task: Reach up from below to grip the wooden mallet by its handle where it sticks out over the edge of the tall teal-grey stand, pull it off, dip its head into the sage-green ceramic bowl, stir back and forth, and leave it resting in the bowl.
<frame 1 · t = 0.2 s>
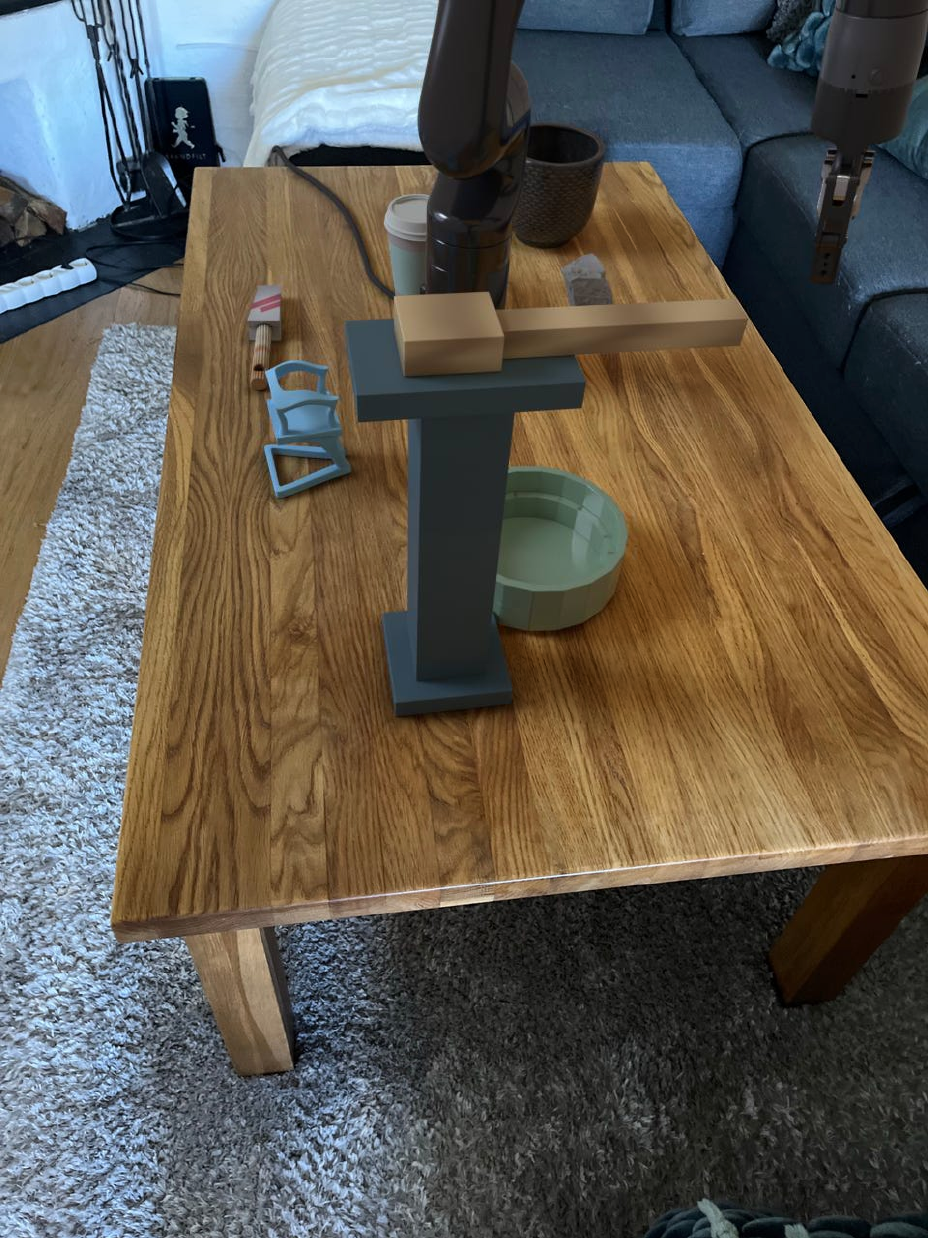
hand: (827, 261, 88), 22 cm above the table, tool pointing down, fingers open, 8 cm apart
chair: (309, 470, 99), on the table
wooden mallet: (462, 350, 58), point 32 cm above the table, touching lectern stand
coffee cup: (417, 299, 122), on the table
mineral specimen: (585, 325, 120), on the table
planter: (542, 237, 134), on the table
lectern stand: (444, 664, 83), on the table
bowl: (531, 569, 91), on the table
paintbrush: (265, 342, 114), on the table
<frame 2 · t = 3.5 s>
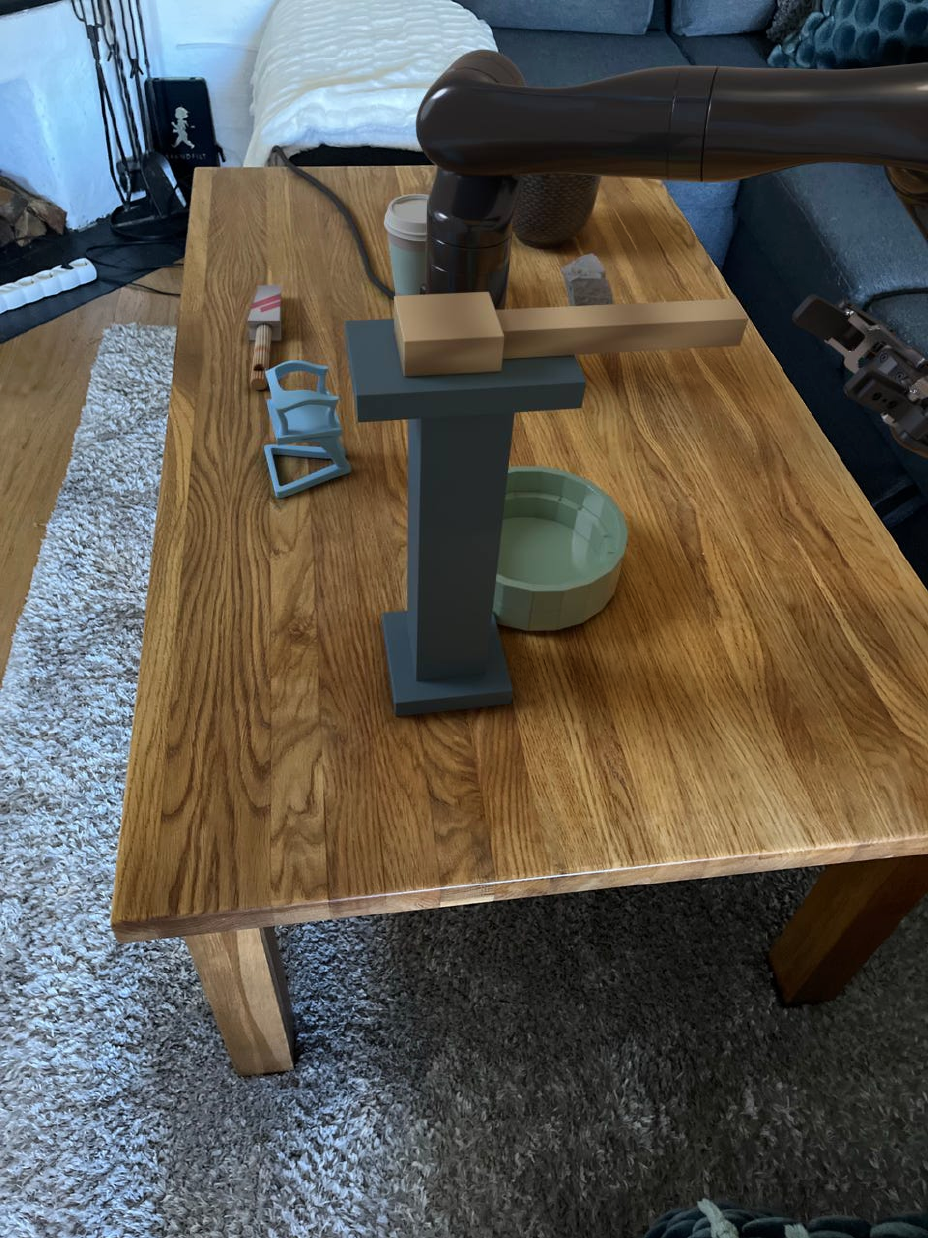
hand: (827, 341, 63), 31 cm above the table, tool pointing upward, fingers open, 8 cm apart
nothing on the table moved.
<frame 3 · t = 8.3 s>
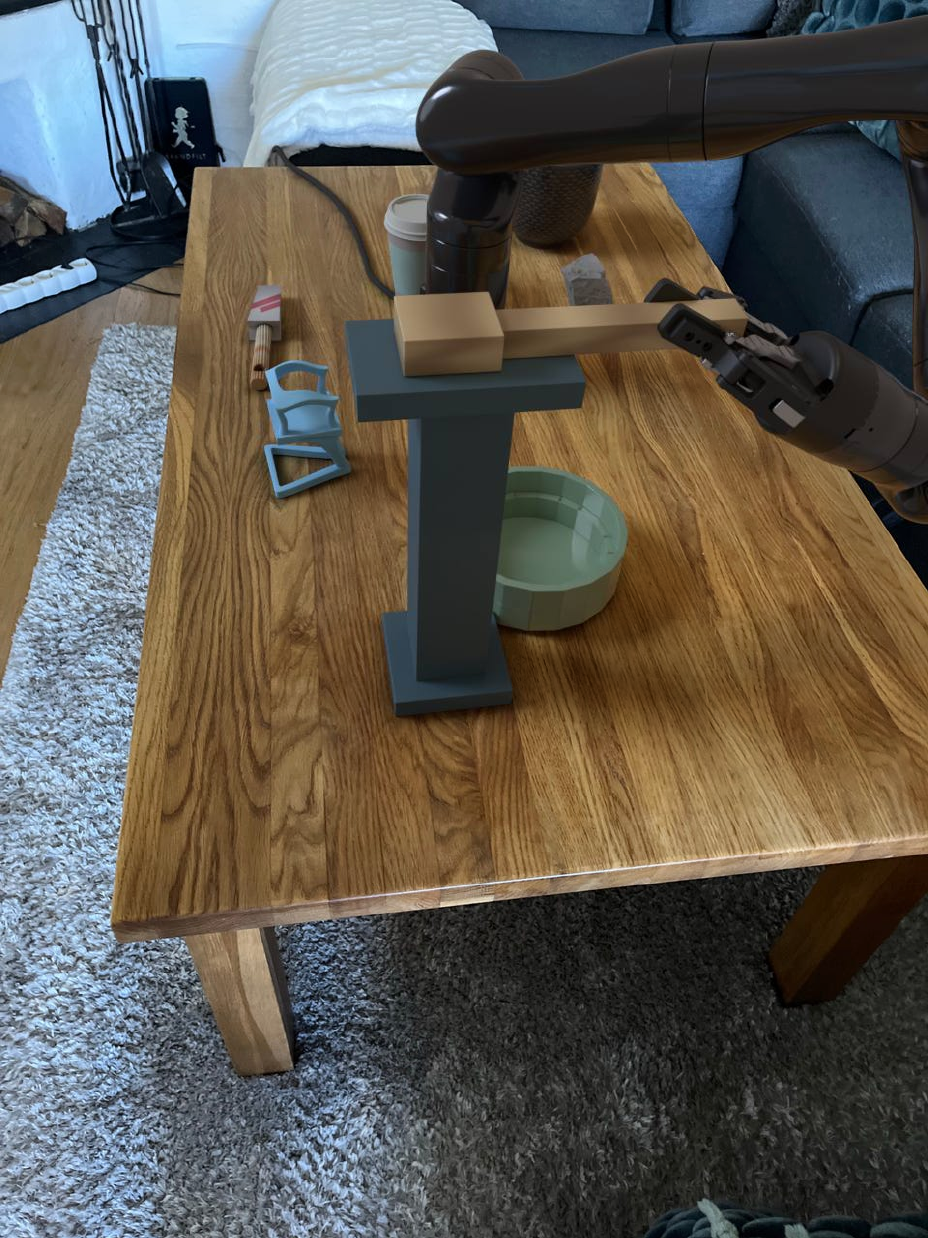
hand: (661, 305, 58), 34 cm above the table, tool pointing upward, fingers closed on wooden mallet, 2 cm apart
wooden mallet: (462, 350, 58), point 32 cm above the table, touching gripper, lectern stand
everything else where it was.
when the fingers open (18 cm above the table, at t = 23.4 s): wooden mallet drops 3 cm, resting on bowl.
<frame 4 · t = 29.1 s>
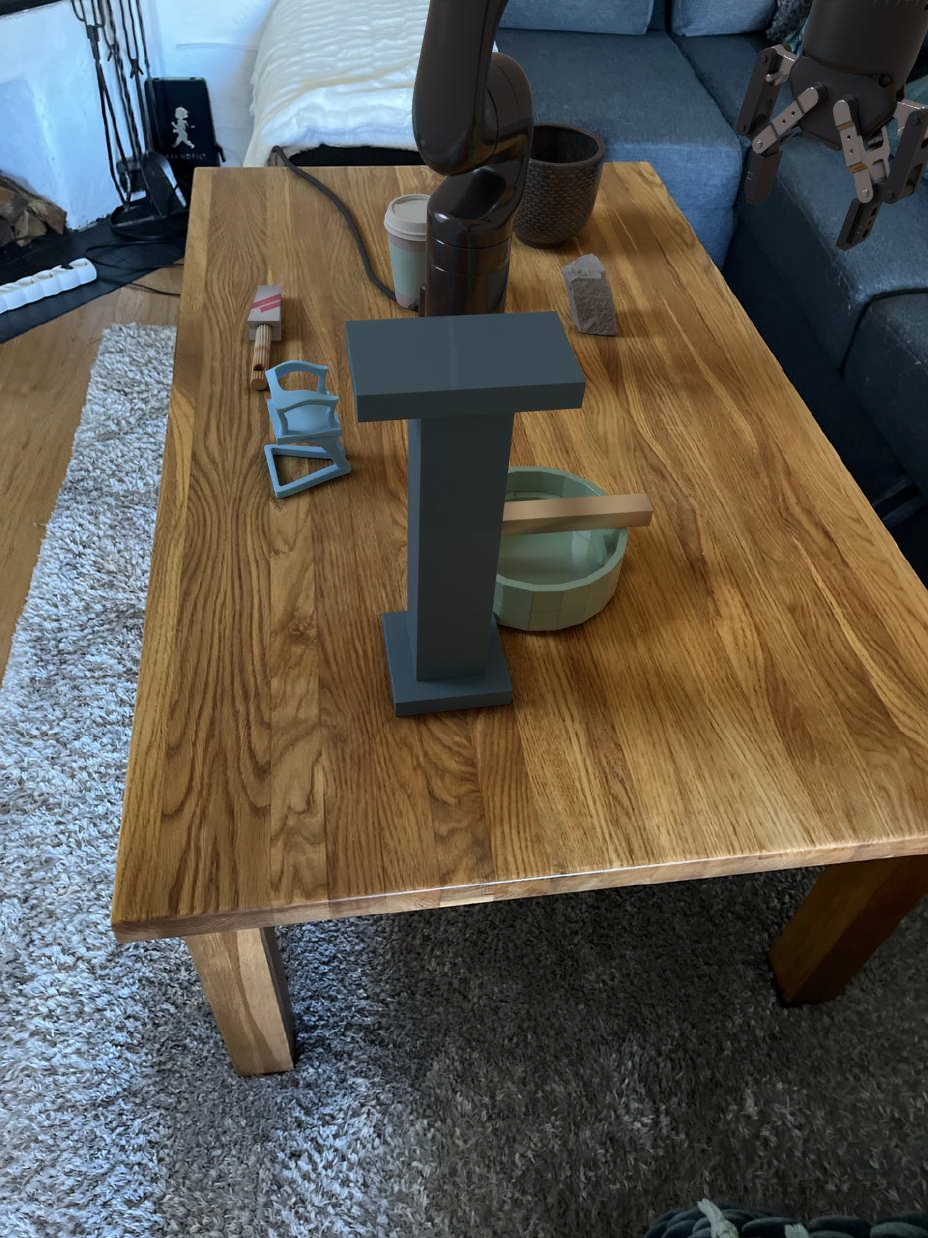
hand: (800, 223, 72), 32 cm above the table, tool pointing down, fingers open, 8 cm apart
wooden mallet: (456, 530, 85), point 6 cm above the table, touching bowl
everything else where it was.
at the end: wooden mallet inside the target area in the bowl (7.7 cm from its centre), point 6.0 cm above the bowl's base; wooden mallet touching bowl; the gripper is holding nothing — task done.
